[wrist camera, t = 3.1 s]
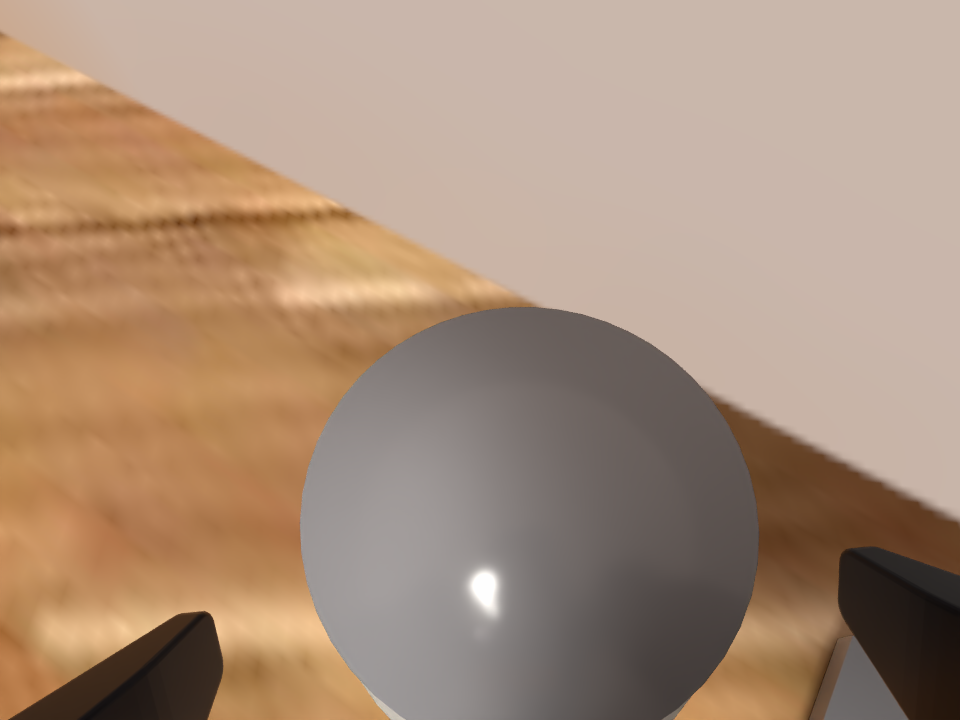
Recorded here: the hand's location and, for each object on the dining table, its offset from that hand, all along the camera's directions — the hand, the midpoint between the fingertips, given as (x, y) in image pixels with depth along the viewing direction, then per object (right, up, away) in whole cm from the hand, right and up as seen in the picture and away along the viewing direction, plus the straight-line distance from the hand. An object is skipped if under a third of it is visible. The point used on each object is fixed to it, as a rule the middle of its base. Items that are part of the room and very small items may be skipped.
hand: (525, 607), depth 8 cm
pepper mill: (+1, -4, +8) cm, 9 cm away
